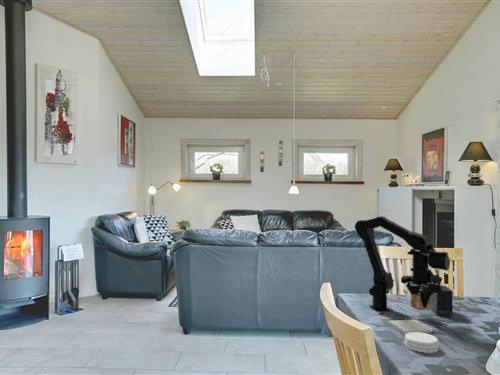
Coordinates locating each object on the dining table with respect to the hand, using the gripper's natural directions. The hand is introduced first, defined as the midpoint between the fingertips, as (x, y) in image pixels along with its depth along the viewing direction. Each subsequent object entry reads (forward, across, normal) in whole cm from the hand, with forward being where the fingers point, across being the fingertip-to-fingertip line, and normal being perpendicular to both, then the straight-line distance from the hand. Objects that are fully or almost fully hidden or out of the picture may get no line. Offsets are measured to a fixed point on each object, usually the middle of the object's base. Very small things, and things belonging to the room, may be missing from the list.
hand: (420, 305), depth 151 cm
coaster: (+6, -27, +18) cm, 33 cm away
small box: (+5, +6, -14) cm, 16 cm away
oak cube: (+1, 0, 0) cm, 1 cm away
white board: (+5, -10, +11) cm, 16 cm away
